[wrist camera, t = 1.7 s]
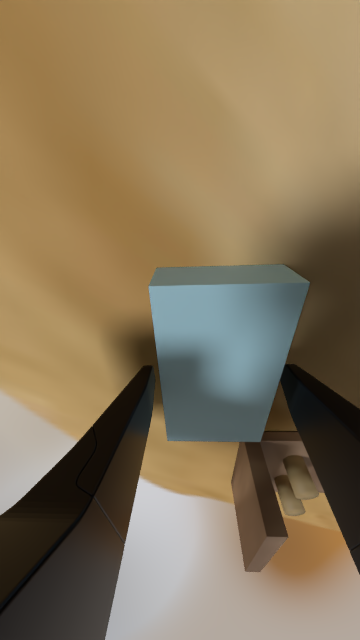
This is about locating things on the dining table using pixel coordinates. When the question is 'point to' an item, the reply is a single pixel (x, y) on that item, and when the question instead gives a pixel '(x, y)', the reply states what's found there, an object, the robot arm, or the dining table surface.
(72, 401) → the dining table surface
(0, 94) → the dining table surface
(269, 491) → the cradle
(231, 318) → the block
